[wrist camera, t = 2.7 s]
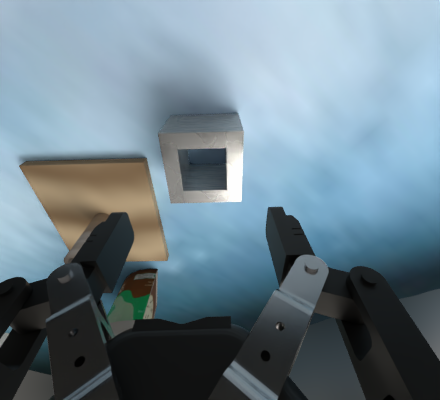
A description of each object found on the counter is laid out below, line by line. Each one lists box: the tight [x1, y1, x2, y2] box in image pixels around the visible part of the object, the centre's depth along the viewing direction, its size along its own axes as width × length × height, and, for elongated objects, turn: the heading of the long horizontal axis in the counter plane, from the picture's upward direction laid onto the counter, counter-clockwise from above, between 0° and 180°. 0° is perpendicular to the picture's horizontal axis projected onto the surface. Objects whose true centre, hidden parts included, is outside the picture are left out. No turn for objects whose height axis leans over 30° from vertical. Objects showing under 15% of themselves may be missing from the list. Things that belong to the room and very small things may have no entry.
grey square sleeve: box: [158, 113, 244, 203], centre depth 19 cm, size 6×6×5 cm
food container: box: [107, 269, 158, 336], centre depth 30 cm, size 12×6×10 cm, turn 170°
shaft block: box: [19, 158, 169, 264], centre depth 23 cm, size 14×12×8 cm
